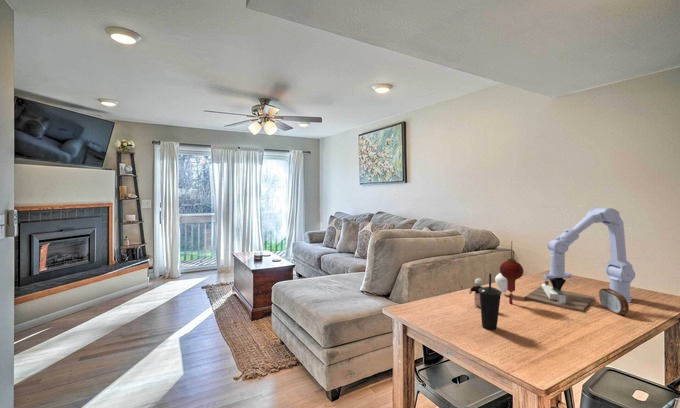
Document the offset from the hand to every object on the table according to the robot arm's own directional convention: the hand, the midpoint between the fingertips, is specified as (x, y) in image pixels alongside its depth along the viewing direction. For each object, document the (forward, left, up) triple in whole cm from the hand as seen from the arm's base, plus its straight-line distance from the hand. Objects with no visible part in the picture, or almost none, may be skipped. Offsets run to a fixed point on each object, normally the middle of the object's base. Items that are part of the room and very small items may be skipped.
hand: (556, 293), depth 149 cm
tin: (+3, +20, -2) cm, 21 cm away
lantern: (+26, -12, -2) cm, 28 cm away
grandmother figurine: (+41, -20, -2) cm, 45 cm away
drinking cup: (+59, -8, -2) cm, 59 cm away
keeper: (+9, +2, -1) cm, 9 cm away
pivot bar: (+1, -3, -1) cm, 3 cm away
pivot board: (+2, +1, -2) cm, 3 cm away
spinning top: (+15, -19, -2) cm, 24 cm away
